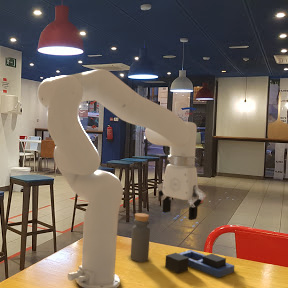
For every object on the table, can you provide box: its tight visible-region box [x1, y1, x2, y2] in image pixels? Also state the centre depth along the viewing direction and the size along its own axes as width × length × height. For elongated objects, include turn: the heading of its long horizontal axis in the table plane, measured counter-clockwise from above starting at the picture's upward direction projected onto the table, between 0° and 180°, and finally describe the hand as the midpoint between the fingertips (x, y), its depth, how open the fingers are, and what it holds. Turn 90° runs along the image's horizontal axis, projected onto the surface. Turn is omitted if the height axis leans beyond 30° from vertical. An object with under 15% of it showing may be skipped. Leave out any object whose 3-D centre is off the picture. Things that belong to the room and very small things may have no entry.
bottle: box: [130, 212, 151, 263], centre depth 126 cm, size 6×6×15 cm
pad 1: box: [164, 252, 189, 274], centre depth 119 cm, size 5×5×4 cm
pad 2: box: [203, 253, 227, 269], centre depth 120 cm, size 5×5×4 cm
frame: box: [178, 249, 235, 279], centre depth 123 cm, size 9×16×2 cm, turn 37°
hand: (179, 215), depth 118 cm, fingers open, 9 cm apart
